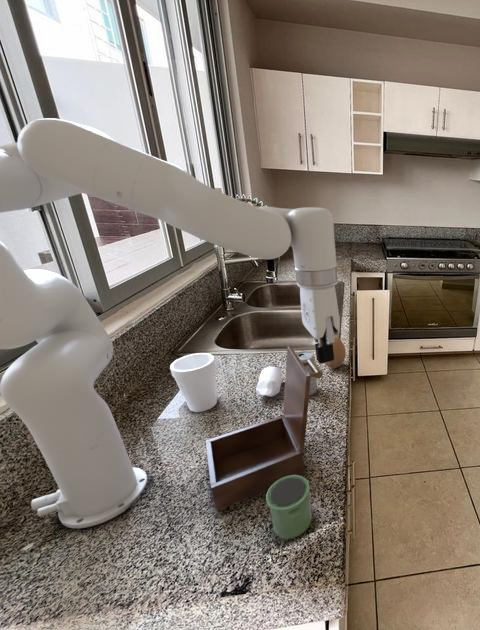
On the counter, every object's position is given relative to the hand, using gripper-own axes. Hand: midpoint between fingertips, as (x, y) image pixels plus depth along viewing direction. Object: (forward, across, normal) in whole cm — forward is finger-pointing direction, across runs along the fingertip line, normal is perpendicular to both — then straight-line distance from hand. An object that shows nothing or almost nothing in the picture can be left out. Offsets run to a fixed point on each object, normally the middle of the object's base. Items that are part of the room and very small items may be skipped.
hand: (325, 360), depth 72 cm
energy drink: (+22, -22, +1) cm, 31 cm away
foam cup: (+22, -31, -24) cm, 45 cm away
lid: (+6, 0, -7) cm, 10 cm away
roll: (+22, -27, -8) cm, 36 cm away
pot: (+22, +16, -13) cm, 30 cm away
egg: (+22, -32, +12) cm, 40 cm away
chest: (+21, 0, -16) cm, 27 cm away
